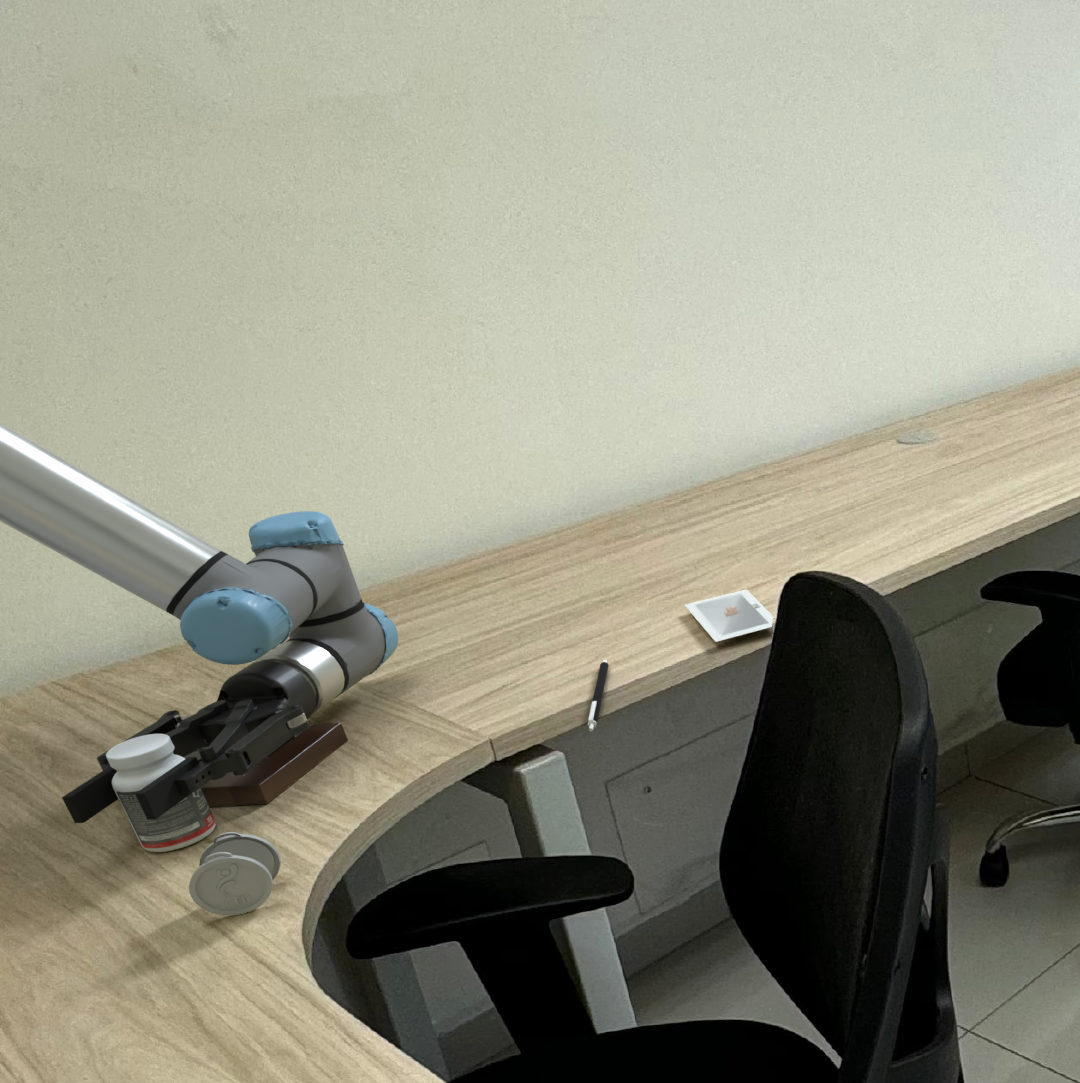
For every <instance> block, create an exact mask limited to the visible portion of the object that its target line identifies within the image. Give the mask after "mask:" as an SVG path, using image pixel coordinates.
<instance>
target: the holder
mask: <svg viewBox="0 0 1080 1083" xmlns="http://www.w3.org/2000/svg"><path fill="white" fill-rule="evenodd" d="M309 726H310V728H308V729H307V730H305V731H303V732H301V733H299V734H297V735H295V736H293V737H292V738H290V739H289V740H288V741H286V742H285V743H284V744H283V745H281V746H280V747H279V748H278V749H276V750H275V751H274V752H273V753H271V754H270V755H269V756H268V757H266V758H265V759H264V760H263V761H261V762H260V763H259V764H258V765H256V766H255V767H254V768H253V769H251V770H250V771H249V772H247V773H245V774H244V775H234V773H233V772H228V773H227V774H226V775H225V776H224V777H222V778H220V779H216V780H210V781H209V782H208V783H206V784H205V785H204V786H202V787H201V791H202V793H203V795H204V797H205V799H206V801H207V803H208V806H209V808H215V807H216V808H218V807H236V806H254V805H255V806H256V805H268V804H269V803H270V802H272V801H273V800H275V799H276V798H277V797H278V796H279V795H281V794H282V793H283V792H284V791H286V790H287V789H288V788H290V787H291V786H292V785H293V784H294V783H296V782H297V781H299V779H301V778H302V777H304V775H306V774H307V773H308V772H310V771H311V770H313V768H315V767H316V766H318V765H319V764H320V763H321V762H322V761H324V760H325V759H327V757H329V756H330V755H331V754H333V753H334V752H335V751H336V750H338V749H339V748H340V747H342V746H343V745H344V744H345V743H346V742H347V741H348V740H349V738H348V736H347V734H346V731H345V728H344V726H343V723H342V722H340V721H339V722H321V723H309ZM204 741H205V740H204ZM333 751H334V752H333ZM243 756H244V758H245V754H244V753H243ZM188 757H197V760H198V762H201V761H202V760H201V757H200V755H199V753H198V751H195V752H193V753H191V754H189V755H187V756H185V757H183V758H185V759H186V758H188Z"/></svg>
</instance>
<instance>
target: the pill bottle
mask: <svg viewBox="0 0 1080 1083" xmlns="http://www.w3.org/2000/svg"><path fill="white" fill-rule="evenodd" d="M126 740H127V739H126ZM174 748H175V747H174V745H173V743H172V741H171V739H170V737H169V736H168V735H165V734H149V735H144V736H140V737H136V738H132V739H129V740H127V741H125V740H124V742H123V741H122V742H120V743H118V744H116V745H114V746H112V747H111V748H110V749H108V750H109V751H108V750H107V751H108V752H107V751H106V752H107V753H106V758H107V760H108V762H109V764H110V766H111V767H112V768H114V769H115V770H117V772H116V774H115V775H114V777H113V779H112V786H113V789H114V791H115V794H116V796H117V797H118V802H119V803H120V805H121V808H122V810H123V811H124V814H125V816H126V818H127V820H128V822H129V824H130V827H131V828H132V830H133V832H134V834H135V836H136V838H137V840H138V842H139V844H140V846H141V848H143V849H144V850H145V851H148V852H150V853H151V852H152V853H165V852H171V851H176V850H180V849H183V848H186V847H188V846H191V845H194V844H196V843H198V842H200V841H202V840H204V839H205V838H206V837H208V836H209V835H211V834H212V832H214V830H215V828H216V826H217V824H216V823H217V821H216V819H215V816H214V814H213V812H212V810H211V807H209V806H208V803H207V801H206V799H205V797H204V795H203V793H202V791H201V788H199V789H198V790H196V791H194V792H193V793H192V794H190V795H189V796H187V797H186V798H185V799H183V800H182V801H180V802H179V803H178V804H176V805H175V806H174V807H172V808H171V809H169V810H168V811H167V812H165V813H164V814H163V815H161V816H160V817H158V818H157V819H152V820H147V818H146V816H145V814H144V812H143V810H142V807H141V805H140V803H139V801H138V799H137V797H136V795H135V793H137V792H138V791H140V790H141V789H143V788H144V787H146V786H147V785H148V784H150V783H151V782H153V781H154V780H156V779H157V778H159V777H160V776H162V775H163V774H164V773H166V772H167V771H169V770H170V769H172V768H173V767H175V766H176V765H178V764H179V763H180V762H182V761H183V760H185V758H183V757H181V756H179V755H174V754H173V750H174Z"/></svg>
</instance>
